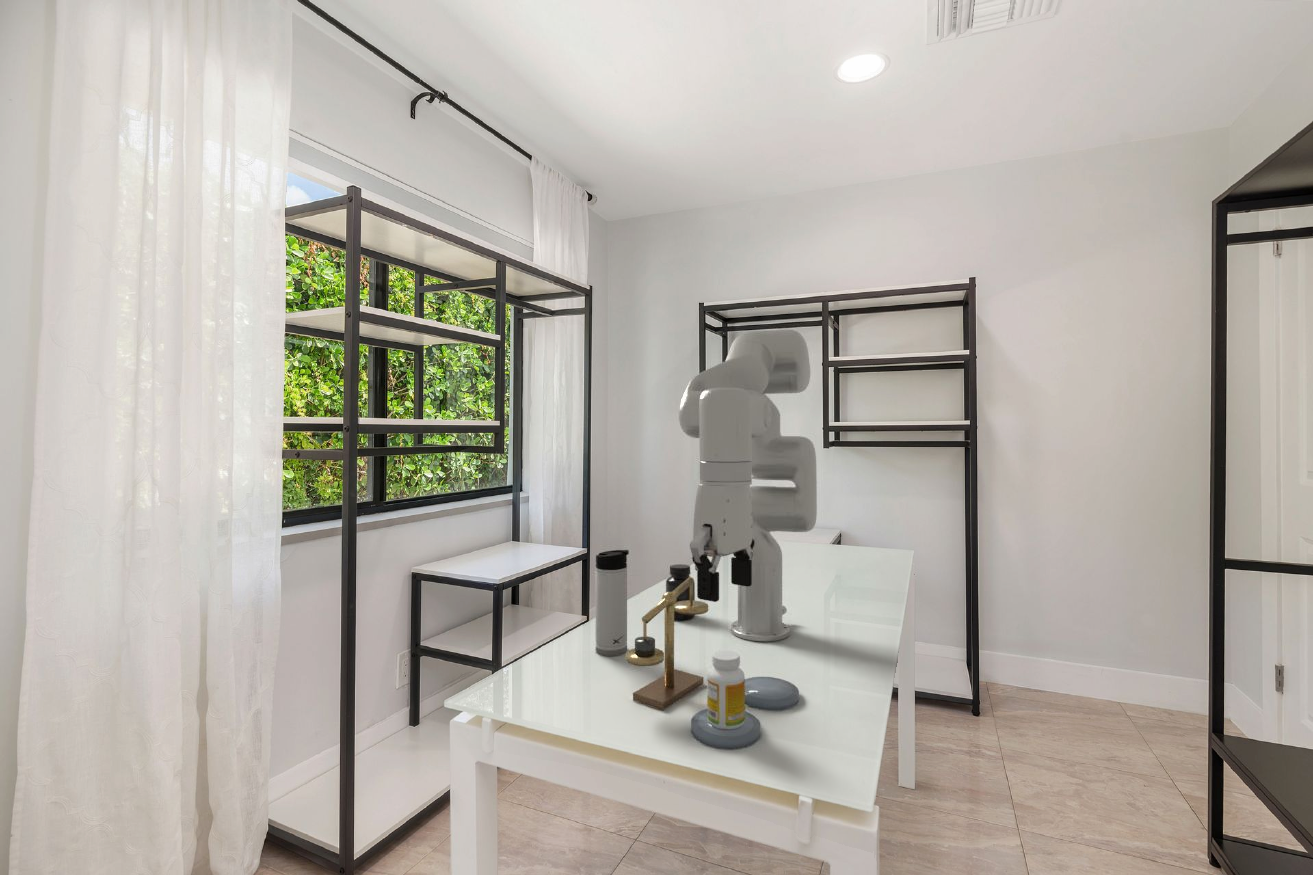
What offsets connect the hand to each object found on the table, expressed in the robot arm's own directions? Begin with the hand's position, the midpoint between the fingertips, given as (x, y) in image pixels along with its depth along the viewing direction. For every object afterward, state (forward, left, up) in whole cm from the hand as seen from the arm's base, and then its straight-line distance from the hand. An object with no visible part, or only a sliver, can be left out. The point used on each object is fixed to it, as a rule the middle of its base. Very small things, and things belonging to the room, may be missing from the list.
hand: (725, 592), depth 86 cm
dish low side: (0, 0, -20) cm, 20 cm away
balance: (-6, -14, -20) cm, 25 cm away
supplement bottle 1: (-41, -35, -20) cm, 58 cm away
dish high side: (-14, 0, -20) cm, 25 cm away
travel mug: (-15, -34, -20) cm, 42 cm away
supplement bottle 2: (0, 0, -19) cm, 19 cm away
